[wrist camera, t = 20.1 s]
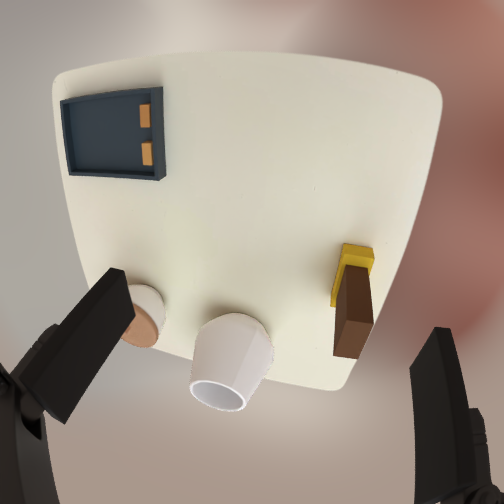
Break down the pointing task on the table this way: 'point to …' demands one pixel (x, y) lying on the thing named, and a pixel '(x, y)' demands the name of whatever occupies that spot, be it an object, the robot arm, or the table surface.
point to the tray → (113, 134)
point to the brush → (352, 301)
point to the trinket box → (145, 316)
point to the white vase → (230, 361)
